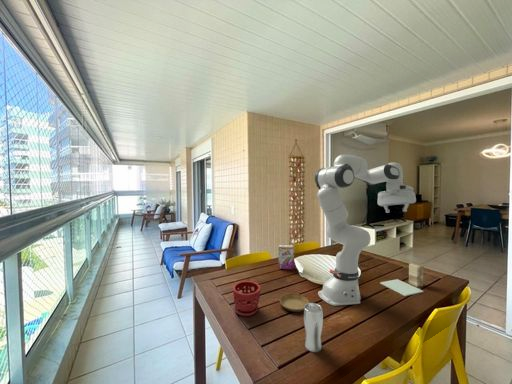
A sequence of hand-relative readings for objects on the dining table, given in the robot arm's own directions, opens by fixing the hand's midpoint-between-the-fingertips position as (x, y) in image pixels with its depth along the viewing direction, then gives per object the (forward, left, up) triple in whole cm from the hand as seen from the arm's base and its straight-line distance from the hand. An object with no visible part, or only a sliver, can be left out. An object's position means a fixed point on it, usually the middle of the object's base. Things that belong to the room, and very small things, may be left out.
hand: (396, 212), depth 127 cm
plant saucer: (-66, +1, -45) cm, 80 cm away
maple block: (+14, -2, -44) cm, 47 cm away
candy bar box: (-49, +46, -45) cm, 81 cm away
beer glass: (-72, -26, -45) cm, 89 cm away
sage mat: (+2, -2, -44) cm, 44 cm away
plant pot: (-90, +4, -45) cm, 100 cm away
